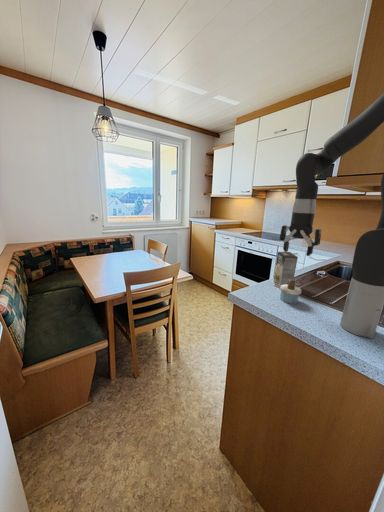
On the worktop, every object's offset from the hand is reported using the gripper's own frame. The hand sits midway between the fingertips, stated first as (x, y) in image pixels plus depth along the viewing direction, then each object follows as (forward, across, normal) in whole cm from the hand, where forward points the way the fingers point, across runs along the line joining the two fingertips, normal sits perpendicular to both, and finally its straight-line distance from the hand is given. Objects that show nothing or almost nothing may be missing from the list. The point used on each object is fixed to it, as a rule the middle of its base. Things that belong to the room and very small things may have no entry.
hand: (296, 253), depth 84 cm
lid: (+16, 0, 0) cm, 16 cm away
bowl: (+20, 0, 0) cm, 21 cm away
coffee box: (+20, +9, -14) cm, 27 cm away
